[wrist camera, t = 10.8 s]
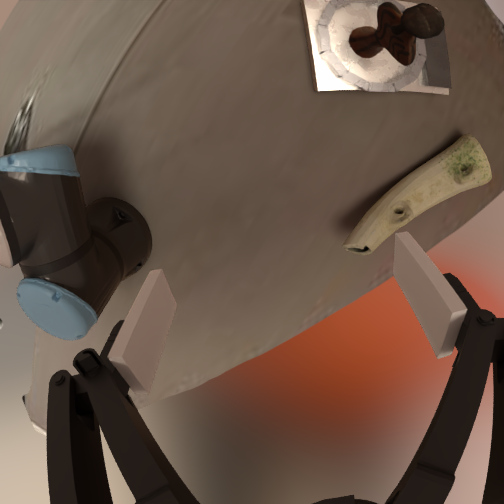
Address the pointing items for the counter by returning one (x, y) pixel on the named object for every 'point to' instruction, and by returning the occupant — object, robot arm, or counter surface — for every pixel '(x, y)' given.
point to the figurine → (397, 31)
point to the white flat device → (368, 69)
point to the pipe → (421, 193)
